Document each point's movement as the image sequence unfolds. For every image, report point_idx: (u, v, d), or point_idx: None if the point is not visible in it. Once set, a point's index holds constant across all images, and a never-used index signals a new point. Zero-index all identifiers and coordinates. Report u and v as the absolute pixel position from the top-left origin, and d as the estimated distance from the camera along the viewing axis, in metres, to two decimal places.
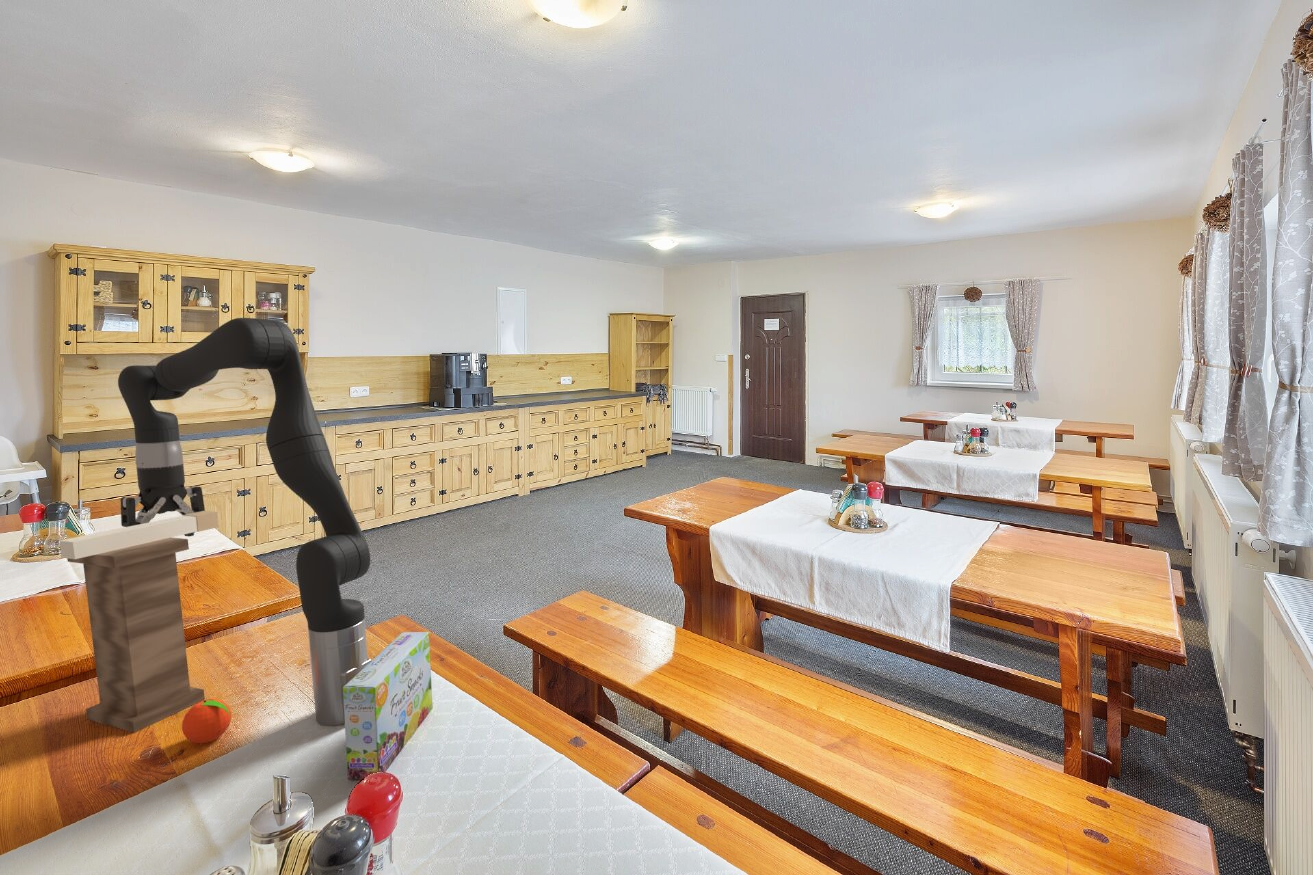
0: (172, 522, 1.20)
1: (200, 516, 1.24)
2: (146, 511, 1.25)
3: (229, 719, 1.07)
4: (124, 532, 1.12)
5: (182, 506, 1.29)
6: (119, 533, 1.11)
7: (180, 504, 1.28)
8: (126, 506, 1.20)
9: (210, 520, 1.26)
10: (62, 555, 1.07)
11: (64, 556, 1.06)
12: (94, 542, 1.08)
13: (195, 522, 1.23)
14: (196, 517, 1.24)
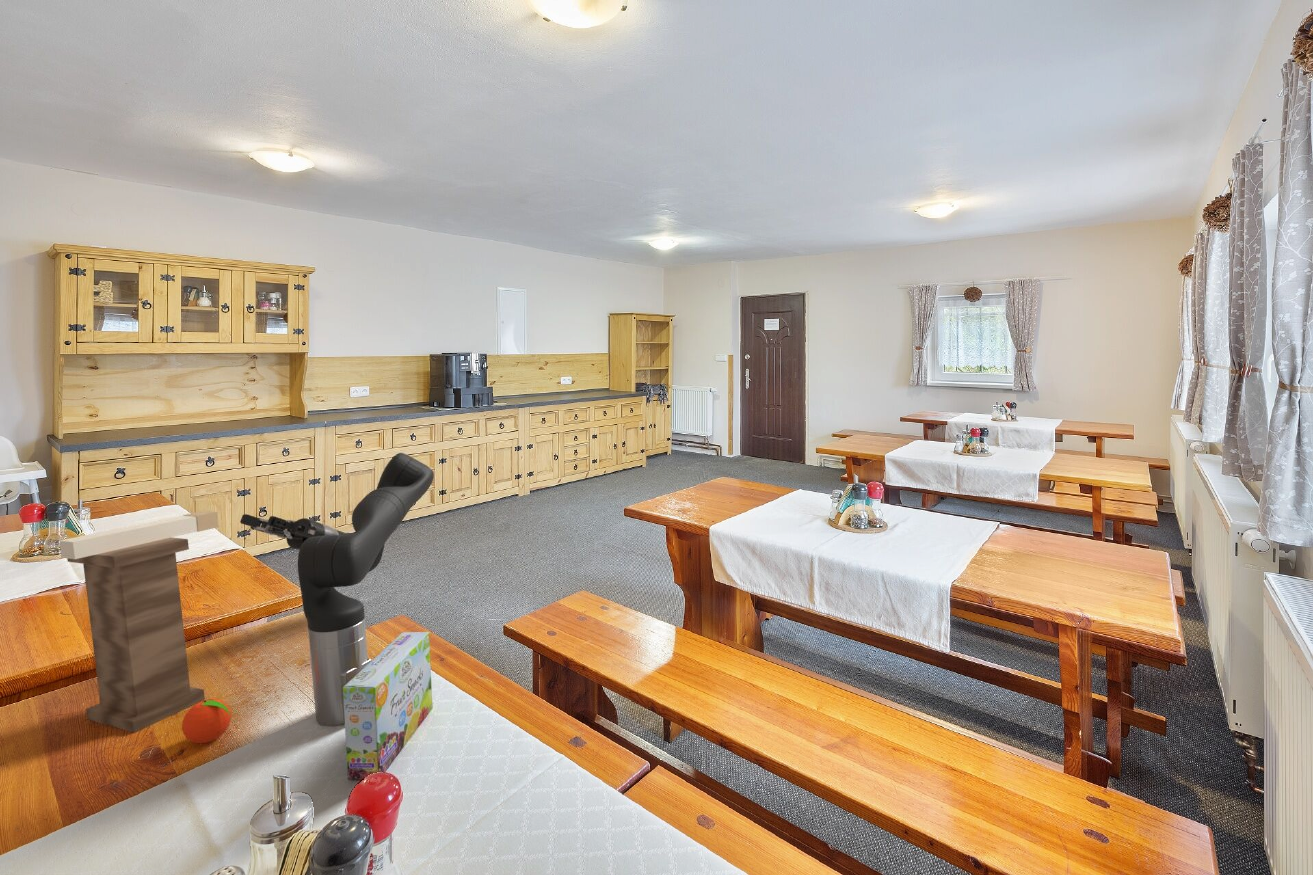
0: (172, 522, 1.20)
1: (200, 516, 1.24)
2: None
3: (229, 719, 1.07)
4: (124, 532, 1.12)
5: None
6: (119, 533, 1.11)
7: None
8: None
9: (210, 520, 1.26)
10: (62, 555, 1.07)
11: (64, 556, 1.06)
12: (94, 542, 1.08)
13: (195, 522, 1.23)
14: (196, 517, 1.24)
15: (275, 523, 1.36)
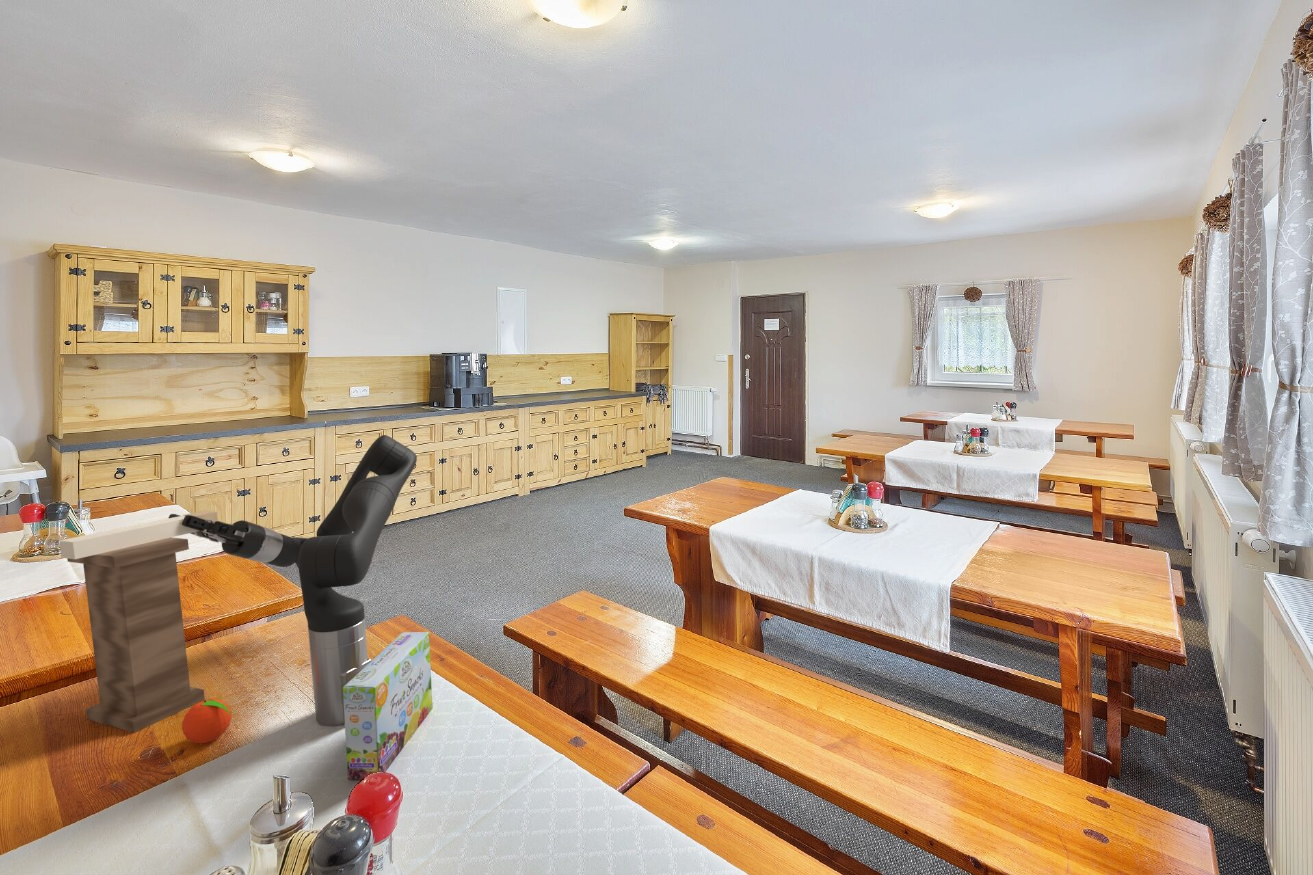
0: (172, 522, 1.20)
1: (200, 516, 1.24)
2: None
3: (229, 719, 1.07)
4: (124, 532, 1.12)
5: None
6: (119, 533, 1.11)
7: None
8: None
9: None
10: (62, 555, 1.07)
11: (64, 556, 1.06)
12: (94, 542, 1.08)
13: None
14: None
15: (191, 523, 1.22)
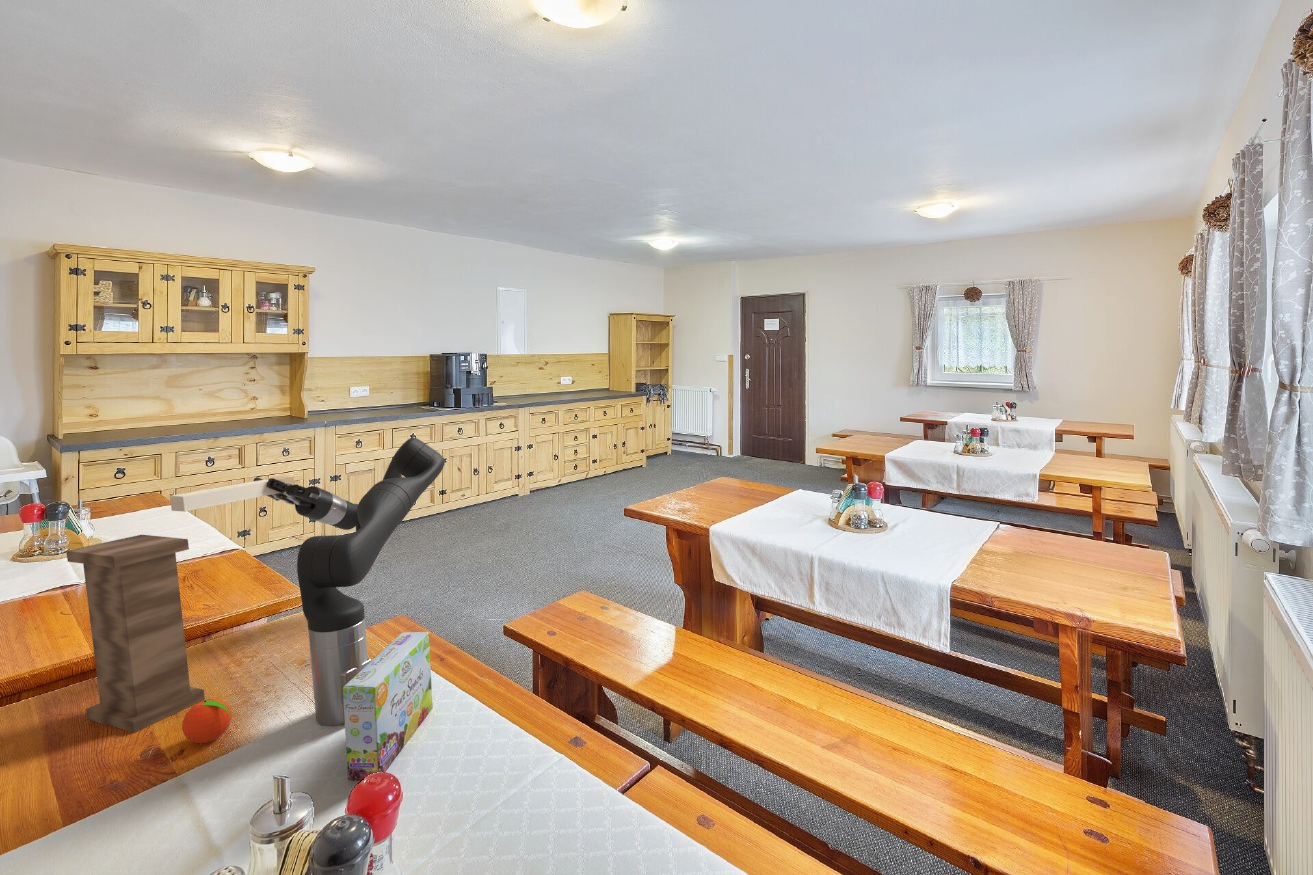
0: (259, 484, 1.36)
1: (280, 480, 1.40)
2: None
3: (229, 719, 1.07)
4: (222, 490, 1.28)
5: None
6: (218, 491, 1.28)
7: None
8: None
9: None
10: (172, 508, 1.23)
11: (174, 509, 1.23)
12: (199, 498, 1.24)
13: None
14: None
15: (274, 485, 1.38)
